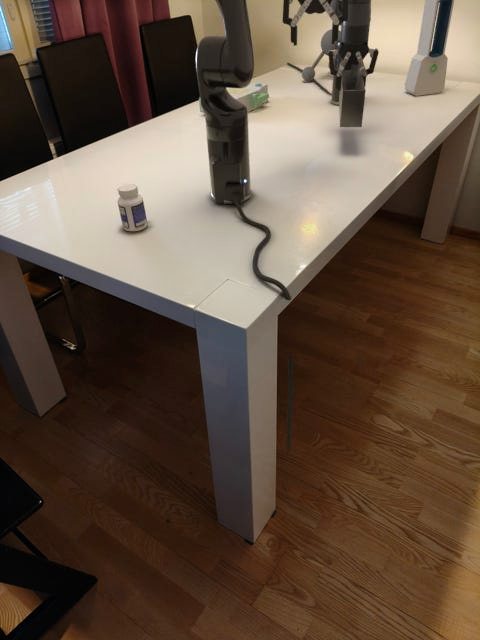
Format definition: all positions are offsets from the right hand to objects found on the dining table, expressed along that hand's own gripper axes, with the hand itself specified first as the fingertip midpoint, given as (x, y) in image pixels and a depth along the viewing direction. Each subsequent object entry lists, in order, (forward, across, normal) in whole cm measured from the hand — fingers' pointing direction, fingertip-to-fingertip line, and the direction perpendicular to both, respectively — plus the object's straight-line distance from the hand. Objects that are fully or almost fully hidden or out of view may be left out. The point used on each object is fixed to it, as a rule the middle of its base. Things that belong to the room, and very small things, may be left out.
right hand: (350, 89), depth 141 cm
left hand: (-16, +10, +28) cm, 34 cm away
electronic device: (+12, -29, -47) cm, 57 cm away
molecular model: (+13, +7, -72) cm, 74 cm away
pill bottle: (+12, +46, +64) cm, 80 cm away
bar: (+5, 0, +8) cm, 9 cm away
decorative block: (+12, +39, -28) cm, 50 cm away
